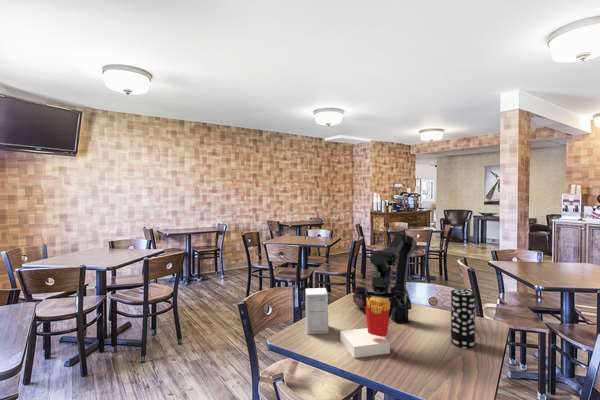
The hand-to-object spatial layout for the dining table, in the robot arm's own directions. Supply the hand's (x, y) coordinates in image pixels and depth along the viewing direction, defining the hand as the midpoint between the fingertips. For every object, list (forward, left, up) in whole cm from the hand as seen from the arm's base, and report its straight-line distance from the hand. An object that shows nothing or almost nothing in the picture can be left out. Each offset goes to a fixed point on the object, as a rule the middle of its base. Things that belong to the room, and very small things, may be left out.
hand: (377, 315), depth 122 cm
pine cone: (-13, -43, -13) cm, 47 cm away
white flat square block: (+3, -4, -13) cm, 14 cm away
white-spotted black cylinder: (-35, +3, -13) cm, 37 cm away
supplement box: (+16, -24, -13) cm, 32 cm away
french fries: (0, 0, -7) cm, 7 cm away
